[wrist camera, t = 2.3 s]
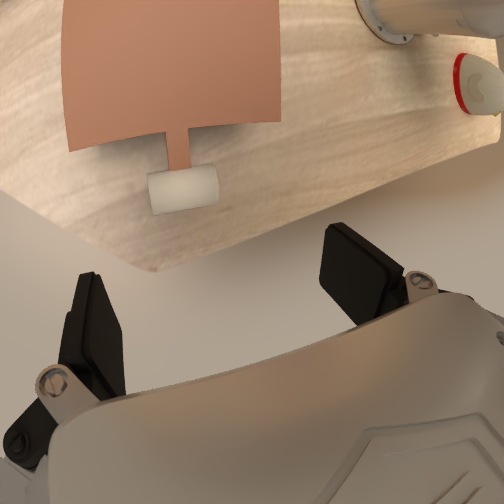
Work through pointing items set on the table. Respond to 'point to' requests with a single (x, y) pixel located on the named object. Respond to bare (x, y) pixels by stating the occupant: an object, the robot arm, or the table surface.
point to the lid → (169, 79)
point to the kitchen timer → (478, 85)
